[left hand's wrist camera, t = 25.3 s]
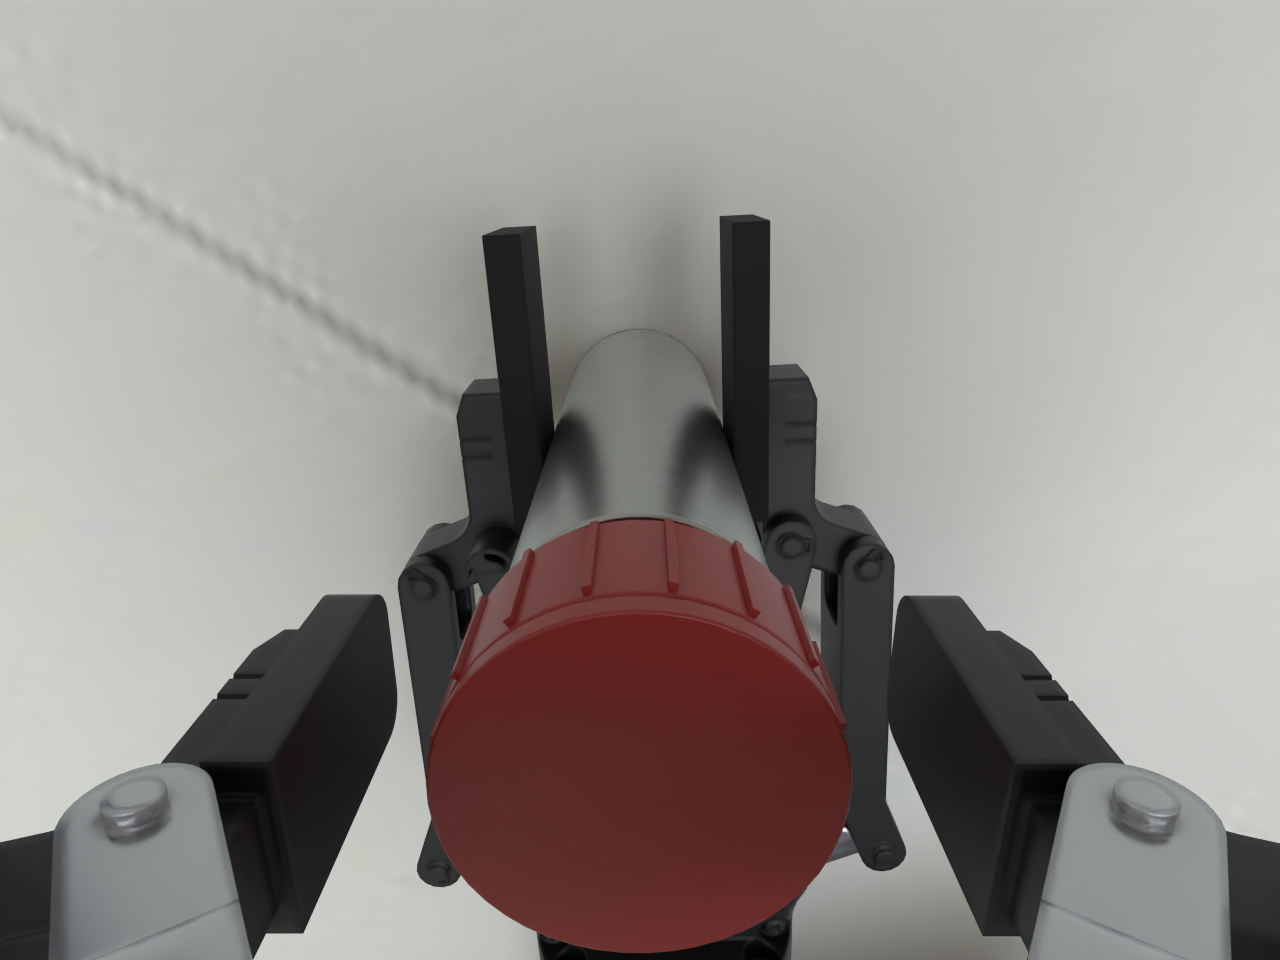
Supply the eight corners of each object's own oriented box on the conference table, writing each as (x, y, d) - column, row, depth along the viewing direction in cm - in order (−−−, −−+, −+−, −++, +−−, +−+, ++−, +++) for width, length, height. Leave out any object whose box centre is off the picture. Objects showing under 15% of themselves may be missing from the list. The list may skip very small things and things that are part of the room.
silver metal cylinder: (597, 480, 26) (537, 915, 11) (549, 355, 25) (403, 650, 9) (725, 439, 25) (852, 833, 10) (684, 309, 24) (761, 540, 9)
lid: (394, 682, 11) (334, 808, 9) (627, 440, 10) (624, 515, 8) (647, 864, 12) (649, 1014, 10) (885, 665, 11) (947, 788, 9)
